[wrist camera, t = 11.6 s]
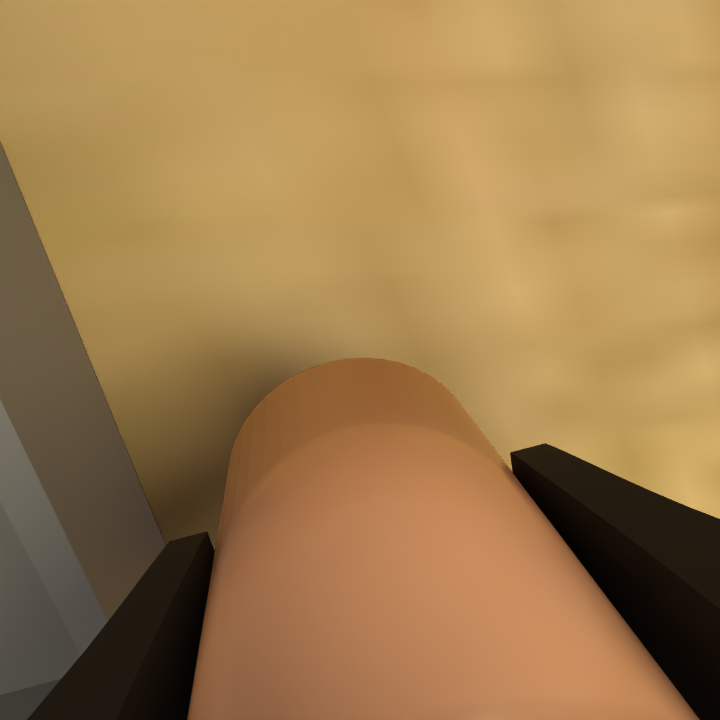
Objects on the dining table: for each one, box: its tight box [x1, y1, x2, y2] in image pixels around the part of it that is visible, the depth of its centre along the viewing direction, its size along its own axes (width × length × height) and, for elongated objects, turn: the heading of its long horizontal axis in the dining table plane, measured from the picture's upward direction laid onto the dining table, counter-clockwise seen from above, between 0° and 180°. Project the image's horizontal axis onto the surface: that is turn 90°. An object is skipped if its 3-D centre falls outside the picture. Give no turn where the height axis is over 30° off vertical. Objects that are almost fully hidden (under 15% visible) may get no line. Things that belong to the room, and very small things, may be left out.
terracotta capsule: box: [187, 358, 700, 720], centre depth 8 cm, size 5×5×7 cm
